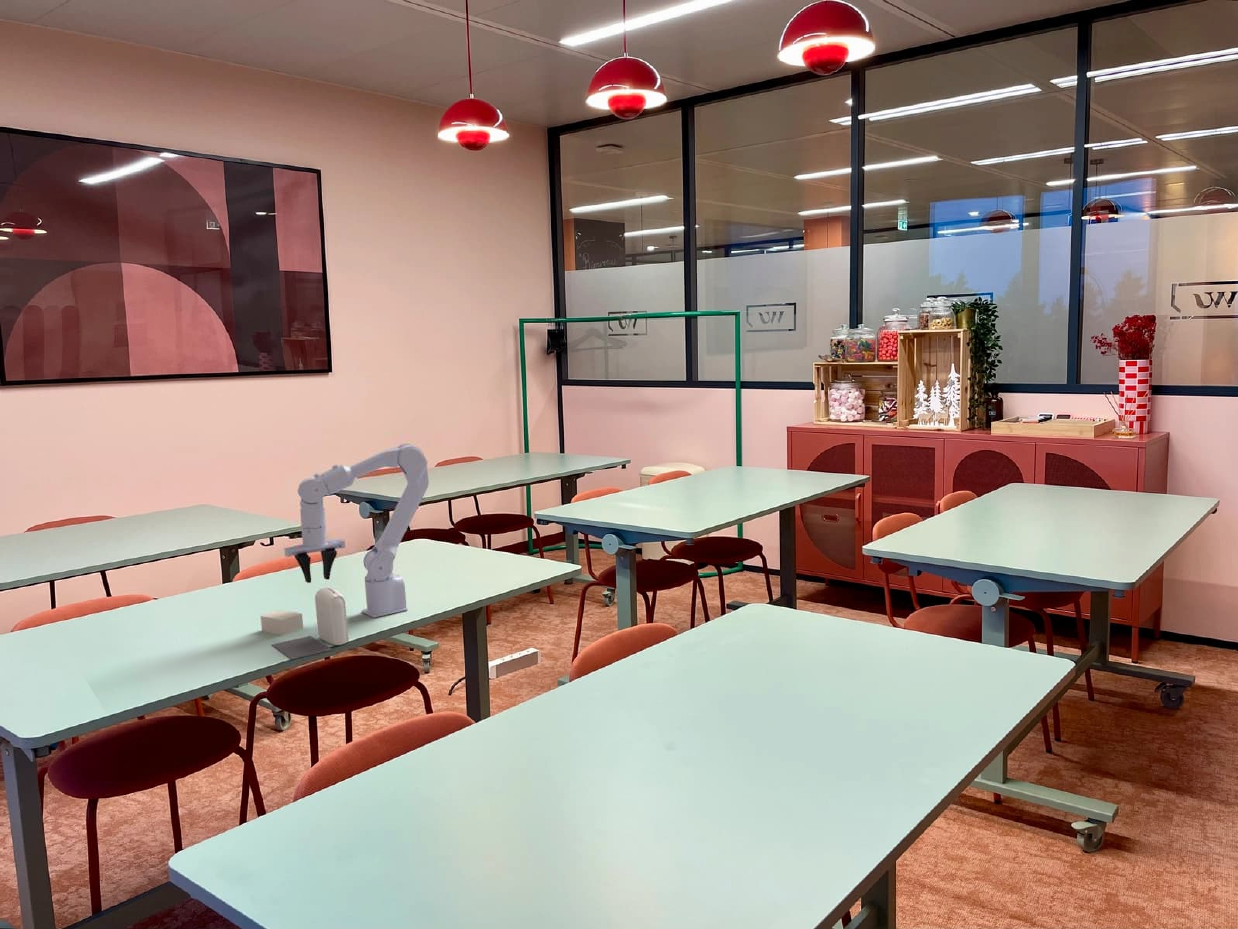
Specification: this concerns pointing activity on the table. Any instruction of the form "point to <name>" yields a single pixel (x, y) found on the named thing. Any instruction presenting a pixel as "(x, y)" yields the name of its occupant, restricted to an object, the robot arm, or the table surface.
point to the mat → (301, 647)
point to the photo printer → (331, 616)
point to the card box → (281, 622)
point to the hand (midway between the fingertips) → (317, 580)
